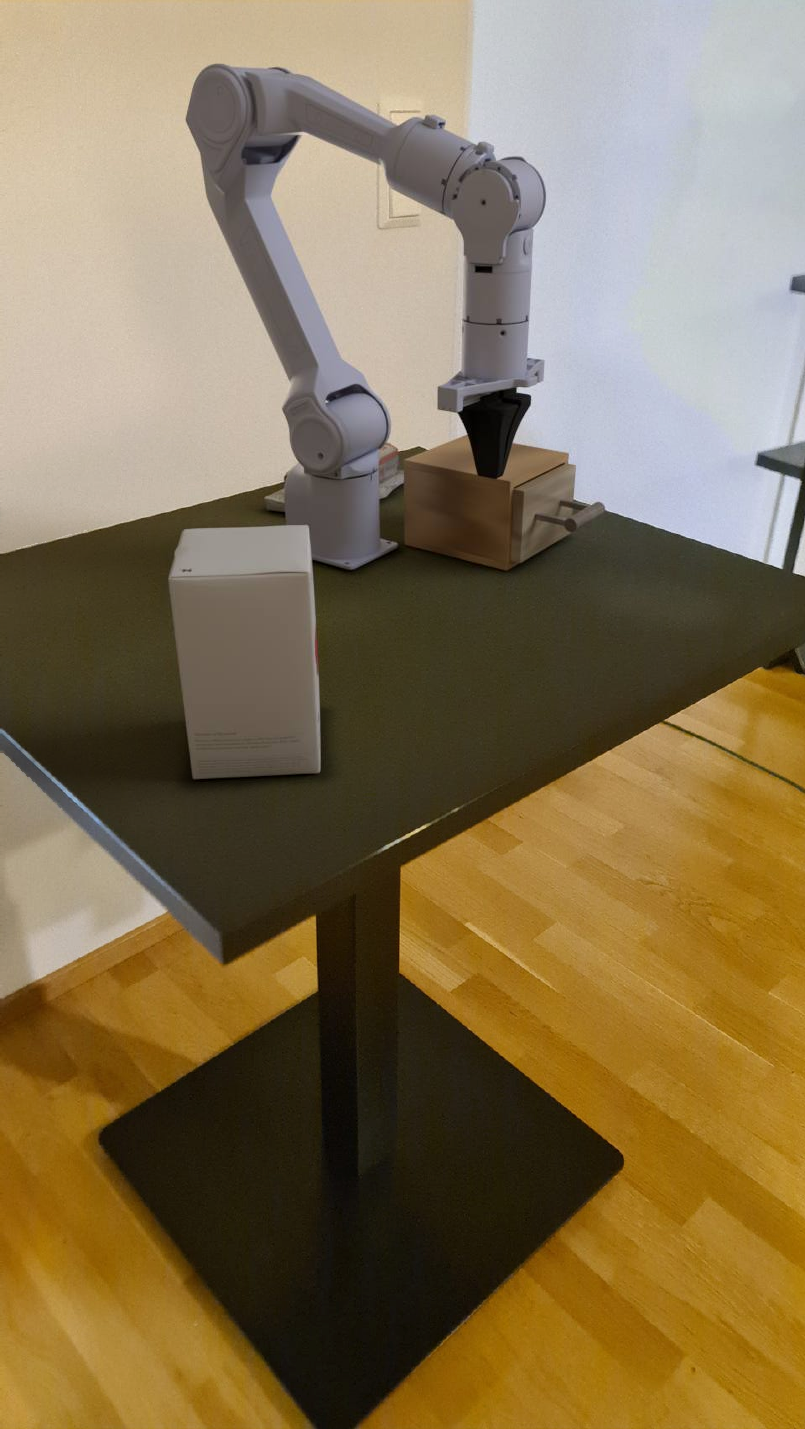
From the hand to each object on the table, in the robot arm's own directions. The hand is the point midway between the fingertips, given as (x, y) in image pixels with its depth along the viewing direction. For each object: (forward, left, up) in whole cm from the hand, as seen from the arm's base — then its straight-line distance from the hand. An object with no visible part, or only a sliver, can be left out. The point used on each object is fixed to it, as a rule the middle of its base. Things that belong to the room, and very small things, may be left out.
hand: (490, 475), depth 94 cm
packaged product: (-28, +12, -11) cm, 32 cm away
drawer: (-2, +9, -9) cm, 13 cm away
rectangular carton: (+3, -35, -11) cm, 37 cm away
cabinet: (-6, +9, -10) cm, 15 cm away
